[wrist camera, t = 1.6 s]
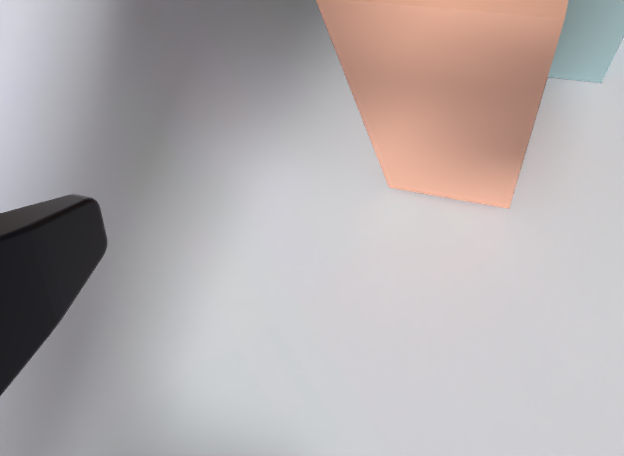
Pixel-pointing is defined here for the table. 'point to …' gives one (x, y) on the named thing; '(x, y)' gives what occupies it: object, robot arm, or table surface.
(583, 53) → the teal block
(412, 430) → the table surface
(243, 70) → the table surface
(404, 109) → the stub
